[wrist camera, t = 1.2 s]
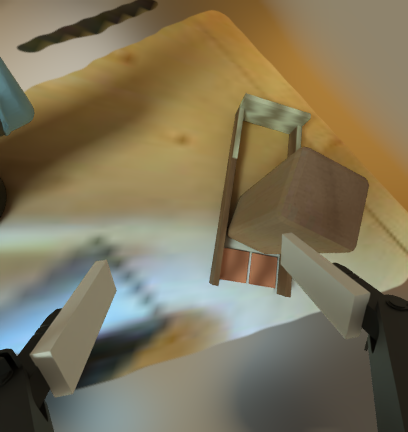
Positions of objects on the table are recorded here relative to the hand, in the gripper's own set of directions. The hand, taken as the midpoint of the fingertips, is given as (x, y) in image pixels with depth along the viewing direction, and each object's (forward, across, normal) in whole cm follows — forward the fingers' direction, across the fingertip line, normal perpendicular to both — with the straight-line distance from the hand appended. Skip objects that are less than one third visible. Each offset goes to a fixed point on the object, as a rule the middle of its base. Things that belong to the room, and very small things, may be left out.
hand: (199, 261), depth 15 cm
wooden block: (+24, +13, -9) cm, 29 cm away
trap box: (+27, +15, -4) cm, 31 cm away
